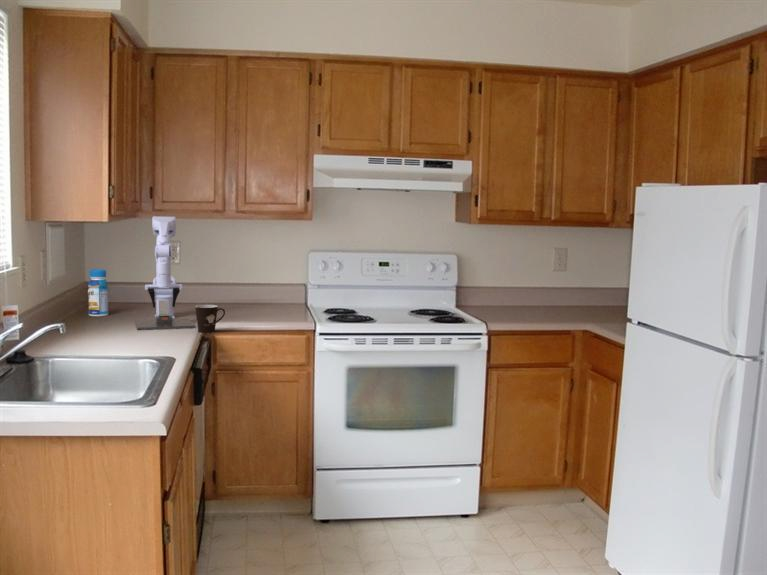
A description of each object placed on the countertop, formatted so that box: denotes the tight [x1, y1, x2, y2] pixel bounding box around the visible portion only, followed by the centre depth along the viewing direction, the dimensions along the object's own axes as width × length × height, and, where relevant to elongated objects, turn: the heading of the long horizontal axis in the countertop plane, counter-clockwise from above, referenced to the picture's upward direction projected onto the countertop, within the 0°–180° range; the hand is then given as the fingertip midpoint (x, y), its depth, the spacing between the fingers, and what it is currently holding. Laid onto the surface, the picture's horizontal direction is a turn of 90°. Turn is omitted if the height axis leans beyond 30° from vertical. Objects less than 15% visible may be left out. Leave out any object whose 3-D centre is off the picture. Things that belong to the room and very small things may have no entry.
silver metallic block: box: [159, 300, 169, 316], centre depth 306 cm, size 4×4×6 cm
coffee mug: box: [194, 304, 226, 334], centre depth 293 cm, size 12×9×10 cm
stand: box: [133, 315, 196, 331], centre depth 306 cm, size 22×22×4 cm
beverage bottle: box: [87, 268, 109, 317], centre depth 327 cm, size 8×8×20 cm
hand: (163, 307), depth 306 cm, fingers open, 7 cm apart
